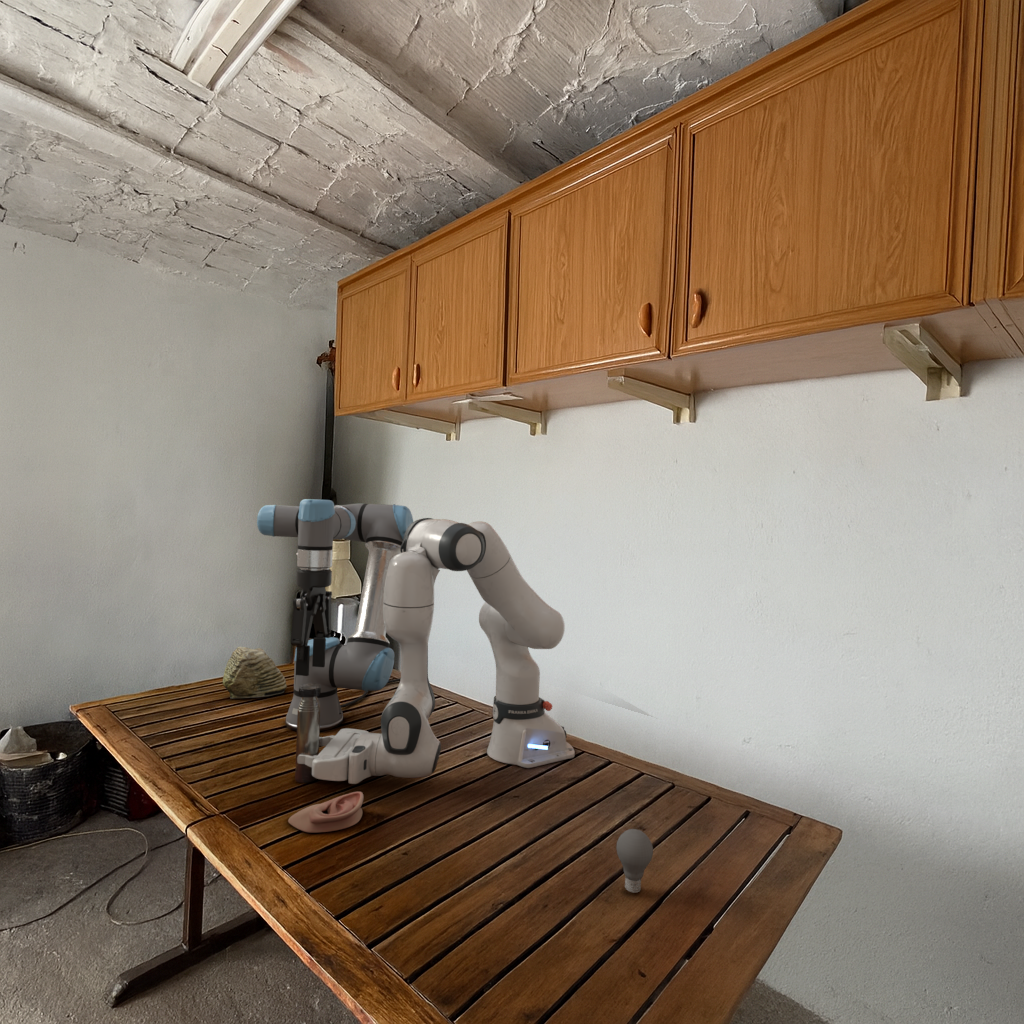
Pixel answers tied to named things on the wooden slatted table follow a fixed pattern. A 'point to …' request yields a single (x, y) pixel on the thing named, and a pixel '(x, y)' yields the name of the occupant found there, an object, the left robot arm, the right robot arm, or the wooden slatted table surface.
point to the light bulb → (634, 857)
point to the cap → (309, 690)
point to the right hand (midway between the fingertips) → (306, 749)
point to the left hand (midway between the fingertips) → (310, 670)
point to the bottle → (307, 736)
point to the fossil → (252, 674)
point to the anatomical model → (329, 814)
